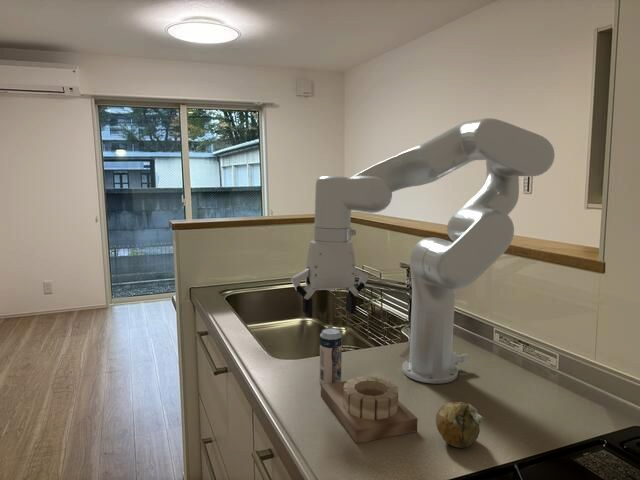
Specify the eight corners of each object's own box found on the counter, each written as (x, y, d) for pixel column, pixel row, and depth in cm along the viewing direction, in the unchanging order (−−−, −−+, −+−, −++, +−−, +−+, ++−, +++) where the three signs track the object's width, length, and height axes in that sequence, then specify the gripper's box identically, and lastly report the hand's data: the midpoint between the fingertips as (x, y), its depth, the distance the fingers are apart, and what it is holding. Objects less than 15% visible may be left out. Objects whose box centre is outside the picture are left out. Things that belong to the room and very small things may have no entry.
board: (373, 387, 102) (373, 361, 101) (416, 431, 86) (418, 400, 85) (320, 396, 98) (321, 368, 97) (356, 443, 82) (356, 410, 81)
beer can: (339, 389, 102) (340, 335, 100) (317, 387, 102) (318, 333, 101) (342, 379, 106) (343, 328, 104) (321, 377, 107) (322, 326, 105)
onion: (477, 432, 86) (480, 390, 84) (482, 458, 78) (485, 412, 77) (434, 426, 87) (436, 385, 86) (434, 451, 80) (437, 407, 78)
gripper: (362, 232, 106) (358, 306, 108) (287, 233, 100) (285, 312, 102) (377, 237, 99) (373, 316, 101) (297, 238, 93) (295, 322, 95)
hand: (329, 314), depth 102 cm, fingers open, 9 cm apart
